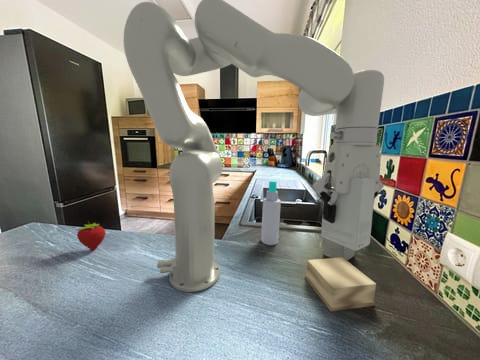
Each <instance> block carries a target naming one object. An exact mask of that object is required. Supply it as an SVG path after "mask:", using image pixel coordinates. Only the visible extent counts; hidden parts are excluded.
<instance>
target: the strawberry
mask: <svg viewBox="0 0 480 360" xmlns="http://www.w3.org/2000/svg"><path fill="white" fill-rule="evenodd" d="M83 226H84V227H81V228H78V231H77V234H76V237H77V239H78V241H79V243H81V244H82V245H83V246H85V247H86V248H88V249H89V250H90V251H95V250H97V249H98V247H99V246H100V245H101V243H102V242H103V240H104V239H105V237H106V234H107V233H106V230H105V228H104V227H102V226H101V225H100V223H96V222H93V223H91V224H90V222H88V224H84V225H83Z"/></svg>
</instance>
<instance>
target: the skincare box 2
mask: <svg viewBox="0 0 480 360" xmlns="http://www.w3.org/2000/svg"><path fill="white" fill-rule="evenodd" d="M322 248H323V249H322V250H323V251H322V254H323V255H324V256H326V257H327V258H340V257H343V258H344V259H345V260H347V261H349V260H350V259H352V258H353V257H354V256H355V252H356V251H355V250H352V249H350V248H347V247H345V246H343V245H340V244H338V243H336V242H333V241H331V240H328V239H326V238H324V237H323V247H322Z"/></svg>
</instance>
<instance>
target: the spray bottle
mask: <svg viewBox="0 0 480 360" xmlns="http://www.w3.org/2000/svg"><path fill="white" fill-rule="evenodd" d="M278 191H279V190H278ZM278 191H277V181H276V180H269V182H268V189H267V190H266V194H265V195H266V196H265V198H263V199H262V217H261V235H260V236H261V237H260V241H261V243H263V244H265V245H267V246H275V245H277V244H278V243H279V235H280V217H281V203H282V201H281V199H279V192H278Z"/></svg>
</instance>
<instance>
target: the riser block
mask: <svg viewBox="0 0 480 360" xmlns="http://www.w3.org/2000/svg"><path fill="white" fill-rule="evenodd" d="M305 273H306V274H305V275H304V279H305V281H307V282H308V284H309V285H310V286H311V288H312V289H313V290H314V291H315V293H316V294H317V295H318V297H319V298H320V300H321V301H322V302H323V304H325V306H326V308H327V309H328V310H329V311H330V312H336V311H345V310H352V309H359V308H360V309H361V308H366V307H373V306H376V302H375V294H376V290H377V289H376V287H377V283H376V282H375V281H374V280H372V279H371V278H370V277H368V276H367V275H365V273H363V272H362V271H361V270H359V269H358V268H357V267H356V266H354V265H353V264H352V263H351V262H349V260H345V259H344V258H343V257H340V258H330V257H327V258H317V259H307V264H306V272H305Z"/></svg>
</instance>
